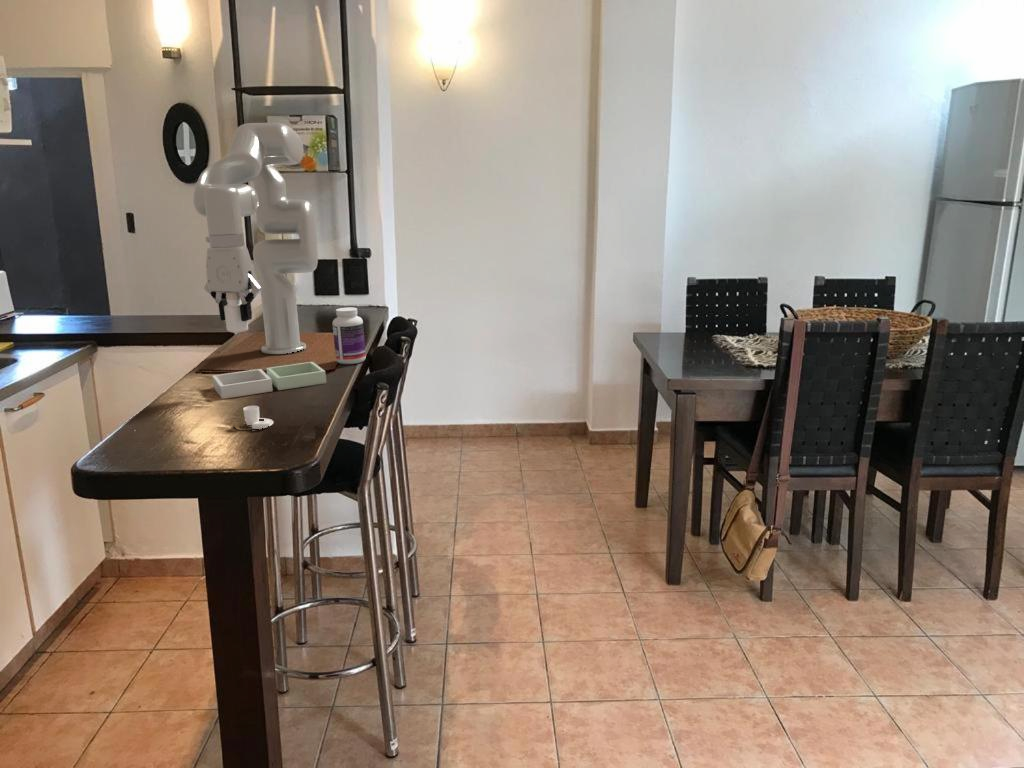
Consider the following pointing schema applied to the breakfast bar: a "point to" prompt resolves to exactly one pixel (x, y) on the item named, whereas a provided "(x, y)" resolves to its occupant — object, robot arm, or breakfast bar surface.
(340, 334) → the pill bottle
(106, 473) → the breakfast bar surface
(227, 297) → the pepper shaker
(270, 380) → the grey bin
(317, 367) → the green bin
